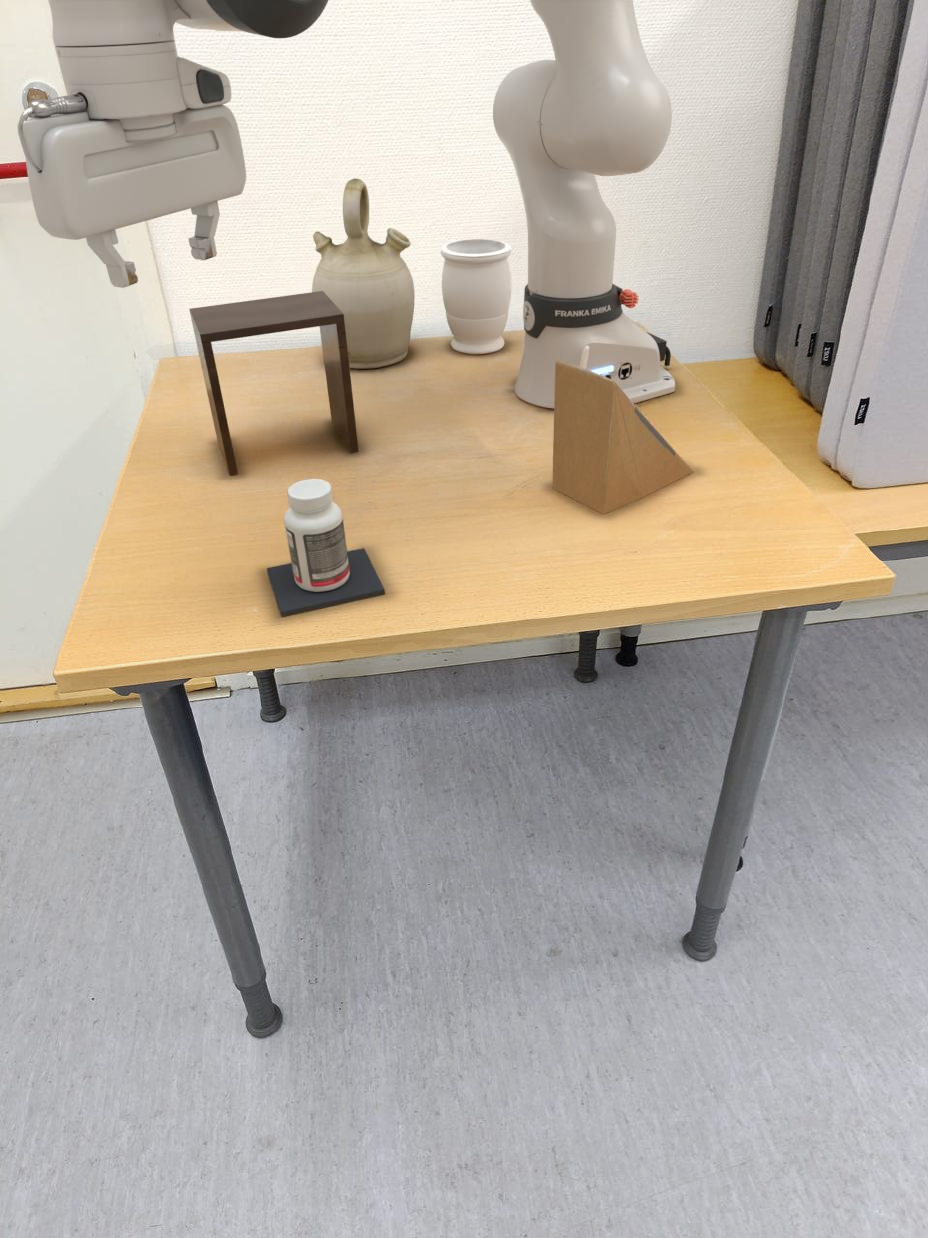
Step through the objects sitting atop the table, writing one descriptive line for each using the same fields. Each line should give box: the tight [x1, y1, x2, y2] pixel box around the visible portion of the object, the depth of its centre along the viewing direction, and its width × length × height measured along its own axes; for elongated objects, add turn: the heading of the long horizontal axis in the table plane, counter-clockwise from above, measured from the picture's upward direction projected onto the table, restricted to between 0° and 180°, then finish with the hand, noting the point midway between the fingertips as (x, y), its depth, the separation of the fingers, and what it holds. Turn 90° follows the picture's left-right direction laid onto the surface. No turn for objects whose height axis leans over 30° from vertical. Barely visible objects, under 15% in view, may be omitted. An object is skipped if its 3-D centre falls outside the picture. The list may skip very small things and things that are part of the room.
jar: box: [440, 238, 512, 355], centre depth 133 cm, size 11×10×15 cm
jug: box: [311, 177, 415, 370], centre depth 128 cm, size 15×16×25 cm
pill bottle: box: [283, 478, 350, 592], centre depth 81 cm, size 5×5×10 cm
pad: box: [266, 547, 386, 618], centre depth 84 cm, size 10×8×1 cm
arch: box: [188, 291, 360, 477], centre depth 104 cm, size 10×16×17 cm, turn 111°
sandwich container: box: [552, 360, 695, 515], centre depth 95 cm, size 9×15×15 cm, turn 129°
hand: (166, 270), depth 76 cm, fingers open, 8 cm apart
